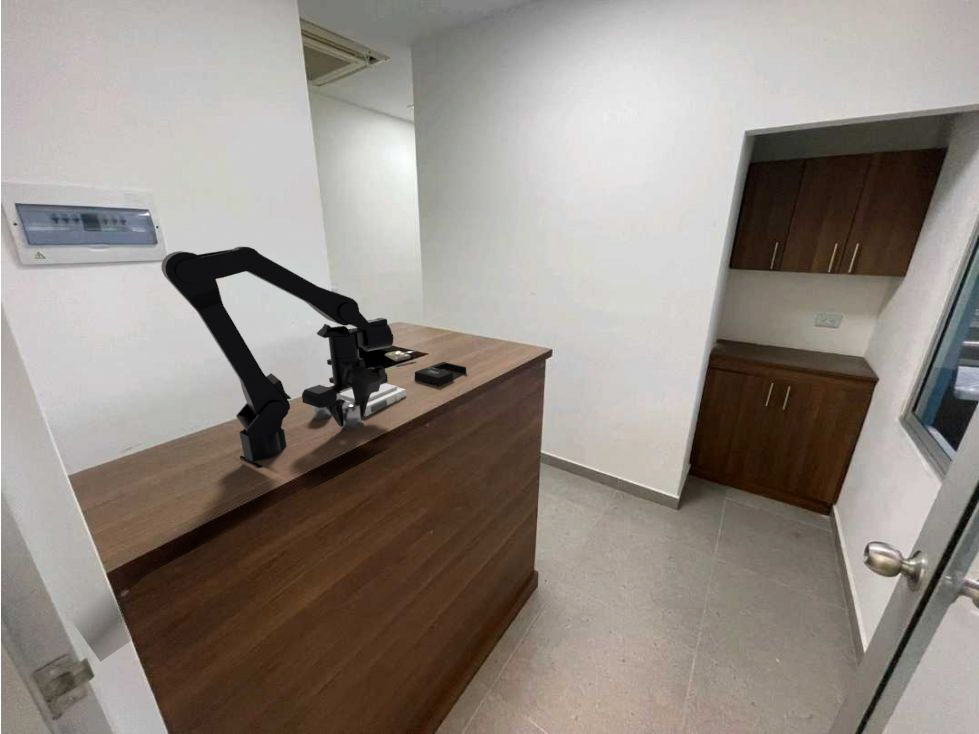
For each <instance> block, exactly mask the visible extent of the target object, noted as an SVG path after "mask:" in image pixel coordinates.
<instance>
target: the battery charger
mask: <svg viewBox="0 0 979 734" xmlns="http://www.w3.org/2000/svg"><path fill="white" fill-rule="evenodd" d="M445 369H447V370H445ZM449 370H451V371H449ZM453 371H454V372H453ZM453 373H456V374H453ZM466 374H467V367H466V366H464V365H463V366H462V365H458V364H454V363H449V362H446V361H442V362H438V363H435V364H434V365H433V364H432V365H430V366H427V367H424V368H421V369H419V370H416V371H414V381H417V382H421V383H424V384H426V385H427V384H428V385H434V384H435V386H436V387H438V388H440V387H442V386H444V385H446V384H448V383H450V382H452V381H454V380H456V379H458V378H460V377H462V376H464V375H466Z"/></svg>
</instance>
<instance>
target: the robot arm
mask: <svg viewBox="0 0 979 734" xmlns="http://www.w3.org/2000/svg"><path fill="white" fill-rule="evenodd" d="M160 267H161V271H162V274H163V276H164V277H165V279H167V281H168V282H169V283H170V284H171V286H173V287H174V289H176V291H177V292H178V293H179V294H180V295H181V296H182V297H183V298H184V299H185V300H186V301H187V303H189V305H190V306H191V307H192V308H193V309H194V310H195V311H196V312H197V314H198V315H199V317H200V319H201V320H202V322H203V323H204V325H205V327H206V328H207V330H208V331H209V333H210V334H211V336H212V338H213V339H214V341H215V343H216V344H217V346H218V348H219V349H220V350H221V352H222V354H223V355H224V357H225V359H226V360H227V362H228V363H229V365H230V367H232V370H233V371H234V373H235V374H236V376H237V377H238V379H239V382H240V387H241V390H242V393H243V395H244V399H245V401H246V403H245V404H244V406H243V407H242V408H241V409H240V410H239V412H238V413H237V414H236V415H235V417H236V418H237V420H238V421H239V423H240V424H241V426H242V427H243V430H241V431H239V433H238V434H239V438H240V442H241V447H242V452H243V455H240V456H239V459H240V460H241V461H243V462H246V463H248V464H250V465H252V466H254V467H255V468H262V467H263V465H261V464H259V463H257V462H258V461H265V460H268V459H271V458H274V457H275V456H277V455H280V453H281V452H282V450H284V449H285V448H287V440H286V439H287V438H286V433H285V429H284V428H282V427H283V426H282V425H283V421H284V419H285V418H286V417H287V416H288V414H289V411H290V410H291V405H290V402H289V400H291V399H292V398H291V396H290V395H288V394H287V393H286V391H285V387H284V386H283V382H282V381H281V380H280V379H279V378H278V377H277V376H276V375H274V374H273V373H272V372H271V373H269V374H268V375H266V374H264V372H263V370H262V369H261V366H260V365H259V363H258V361H257V360H256V358H255V357H254V355H253V353H252V352H251V351H252V350H250V348H249V346H248V345H247V343H246V341H245V340H244V338H243V336H242V335H241V333H240V331H239V330H238V328H237V326H236V324H235V323H234V321H233V319H232V317H231V316H230V314H229V312H228V311H227V309H226V307H225V306H224V304H223V300H222V295H221V293H220V288H219V285H218V281H217V280H218V279H223V278H226V277H230V276H234V275H238V274H240V273H245V272H246V273H248V274H250V275H252V276H255V277H256V278H258V279H260V280H262V281H263V282H266V283H268V284H270V285H272V286H273V287H276V288H278V289H279V290H282V291H284V292H286V293H287V294H289V295H291V296H293V297H295V298H297V299H299V300H301V301H303V302H304V303H306V304H307V305H308V306H309V307H310V308H312V309H313V310H314V311H315V312H316V313H318V314H320V315H321V316H322V317H323V318H325V319H326V320H328V321H330V322H332V323H336V324H338V325H339V326H331V325H329V324H326V323H324V324H323V326H322V327H321V328H320V329H319V330H318V331H317V332H316V334H317V336H319V337H321V338H323V339H327V338H328V344H329V345H328V347H329V356H330V358H329V359H326V364H327V365H328V366H331V373H332V376H331V377H329V378H328V380H329V383H330V384H333V385H332V386H325V385H321V384H318V385H314V386H311V387H308V388H305V389H304V390H303V391H302V393H301V399H302V403H303V404H306V405H309V406H312V407H313V406H315V407H318V408H324V407H326V408H327V409H328V410H329V412H330V413H331V415H332V416H331V417H332V418H333V419H334V421H335V423H337V425H338V426H339V427H342V428H343V426H344V419H343V409H342V405H343V404H344V403H345V400H342V399H341V397H340V393H342V392H344V391H347V390H350V389H352V390H353V394H354V398H355V402H358V403H359V404H360V415H361V418H364V417H365V416H364V414H365V410H366V407H367V403H368V400H369V397H370V395H371V393H374V392H378V391H379V389H380V385H382V384H384V383H386V384H388V383H389V382H388V373H387V372H386V368H385V367H384V366H382V365H378V366H376V367H368V368H367V367H366V362H365V360H364V358H361V357H360V352H359V351H360V350H359V348H362V349H363V351H365V352H370V351H375V350H381V349H387V348H391V347H392V345H394V334H393V332H392V329H391V327H390V325H389V324H388V319H387V318H384V317H378V318H375V319H368V320H367V319H366V317H365V316H364V315H363V314H362V313H361V312H360V308H359V304H358V302H357V300H355V299H354V298H352V297H350V296H346V295H344V294H341V293H338V292H335V291H332V290H329V289H326V288H323V287H320V286H318V285H317V284H314V283H313V282H311V281H309V280H307V279H306V278H304V277H302V276H300V275H298V274H297V273H295V272H293V271H291V270H289V269H288V268H286V267H284V266H282V265H281V264H278V263H277V262H275V261H274V260H272V259H270V258H268V257H267V256H264V255H263V254H261V253H260V252H258V251H257V250H256V249H255V248H253V247H250V246H236V247H234V248H232V249H231V248H230V249H225V250H218V251H213V252H206V253H199V254H197V253H194V252H189V251H182V250H179V251H173V252H171V253H168V254H167V255H166V256H165V257H164V258H163V260H162V261H161V266H160ZM347 326H352V327H353V328H348V327H347Z"/></svg>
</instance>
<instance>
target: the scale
mask: <svg viewBox="0 0 979 734" xmlns="http://www.w3.org/2000/svg"><path fill="white" fill-rule="evenodd" d="M406 395H407V392H406V389H405V388H401V387H398V386H397V385H393V384H390V383H384V384H382V385H380V389H379V391H378V392H374V393H371V395H370V397H369V400H368V403H367V407H366V410H365V414H364V417H368V416H370V415H372V414H373V413H375V412H377V411H380V410H381V409H384V408H385V407H388V406H389V405H391V404H392V403H395V402H398V401H400V400H401V399H402V398H404V397H406ZM340 397H341V399H342V400H345V403H347V402H355V398H354V394H353V390H352V389H350V390H347V391H344V392H342V393H340Z"/></svg>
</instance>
